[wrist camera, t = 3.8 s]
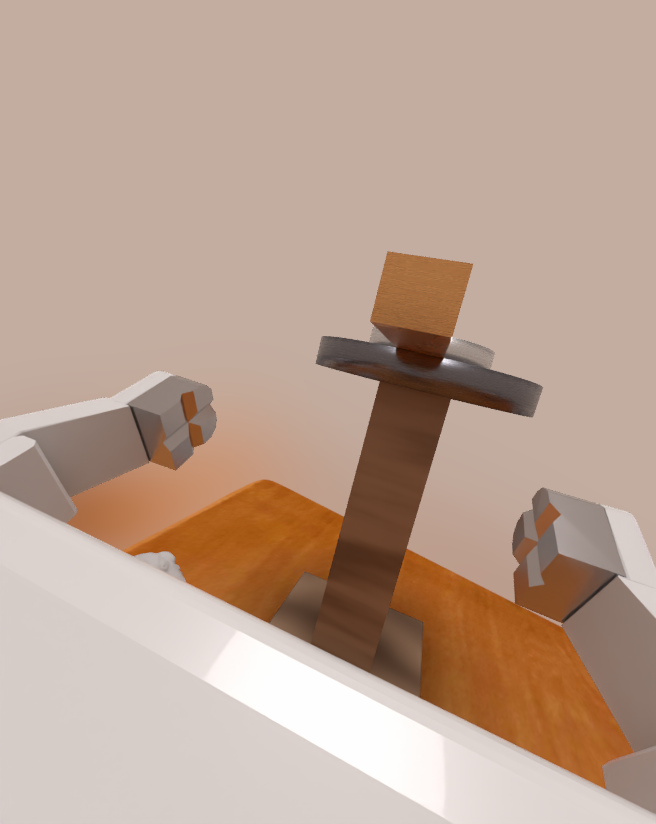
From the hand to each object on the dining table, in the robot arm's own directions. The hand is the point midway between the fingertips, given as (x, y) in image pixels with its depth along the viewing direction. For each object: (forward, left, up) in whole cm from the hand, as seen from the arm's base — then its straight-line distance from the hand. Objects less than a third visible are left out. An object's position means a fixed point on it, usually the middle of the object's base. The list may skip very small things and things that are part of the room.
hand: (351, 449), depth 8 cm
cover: (+12, +9, +3) cm, 16 cm away
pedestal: (+15, +12, -23) cm, 30 cm away
